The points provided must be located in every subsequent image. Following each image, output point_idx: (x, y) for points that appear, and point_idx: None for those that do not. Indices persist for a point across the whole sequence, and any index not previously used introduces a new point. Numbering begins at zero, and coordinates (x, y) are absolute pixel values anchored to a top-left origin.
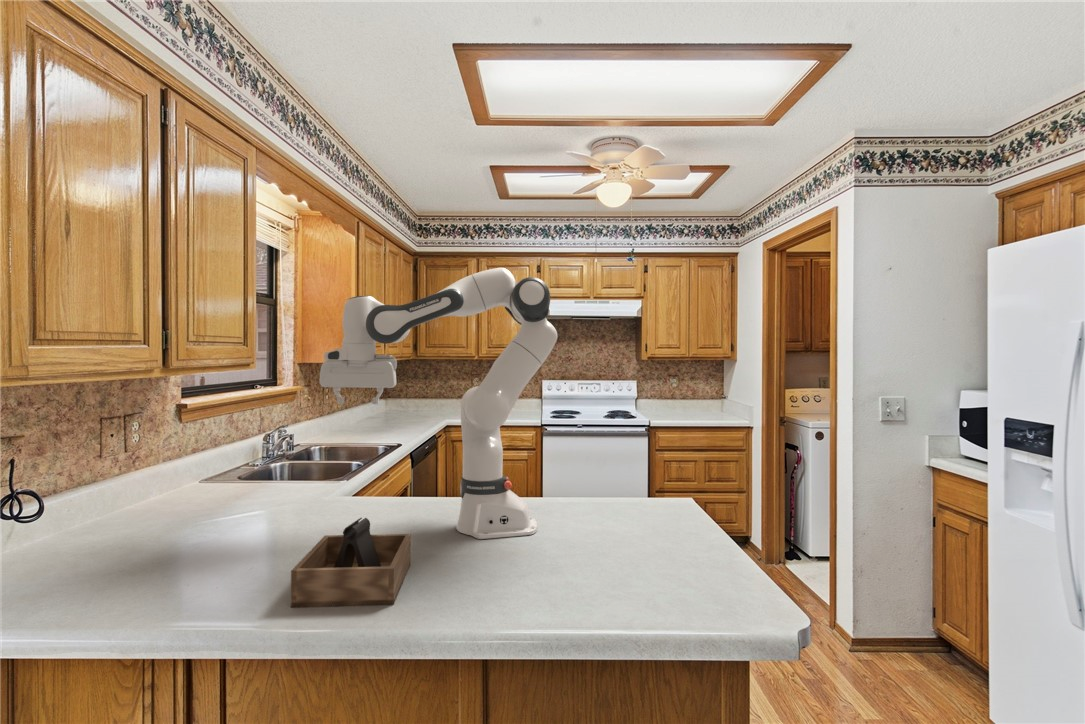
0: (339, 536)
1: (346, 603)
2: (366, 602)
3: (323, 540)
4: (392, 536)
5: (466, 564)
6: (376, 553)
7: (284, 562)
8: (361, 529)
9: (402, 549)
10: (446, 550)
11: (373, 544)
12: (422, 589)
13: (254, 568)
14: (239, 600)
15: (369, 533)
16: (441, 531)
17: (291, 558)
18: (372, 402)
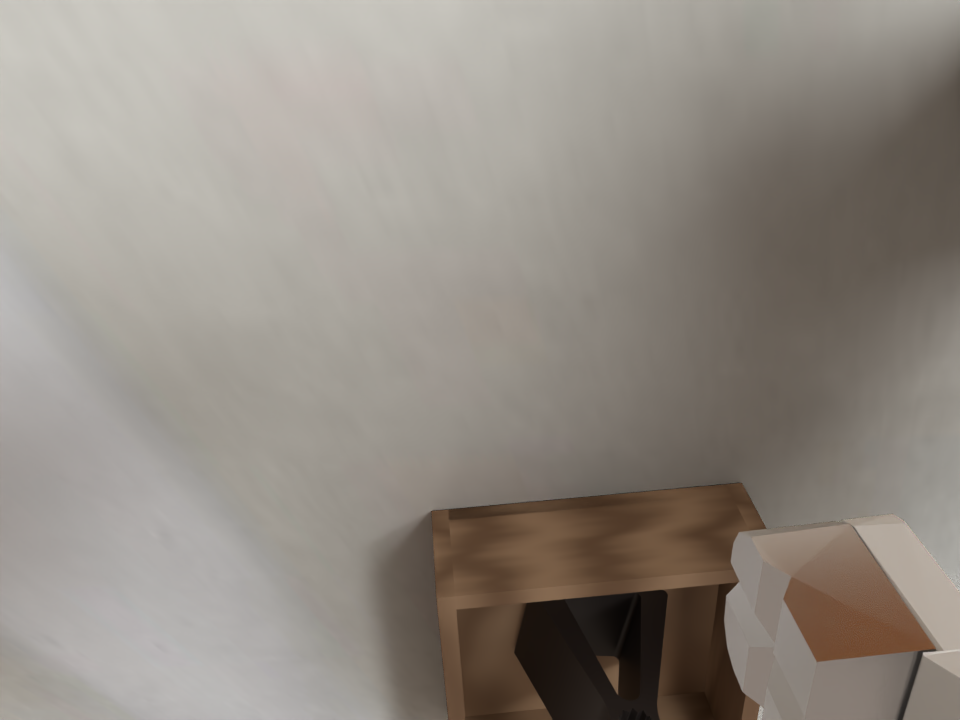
0: (500, 602)
1: None
2: None
3: (453, 637)
4: (713, 582)
5: (940, 471)
6: (662, 645)
7: (257, 488)
8: None
9: None
10: (884, 357)
11: (659, 672)
12: None
13: (177, 536)
14: (287, 697)
15: (655, 707)
16: (885, 117)
17: (261, 455)
18: (740, 675)
